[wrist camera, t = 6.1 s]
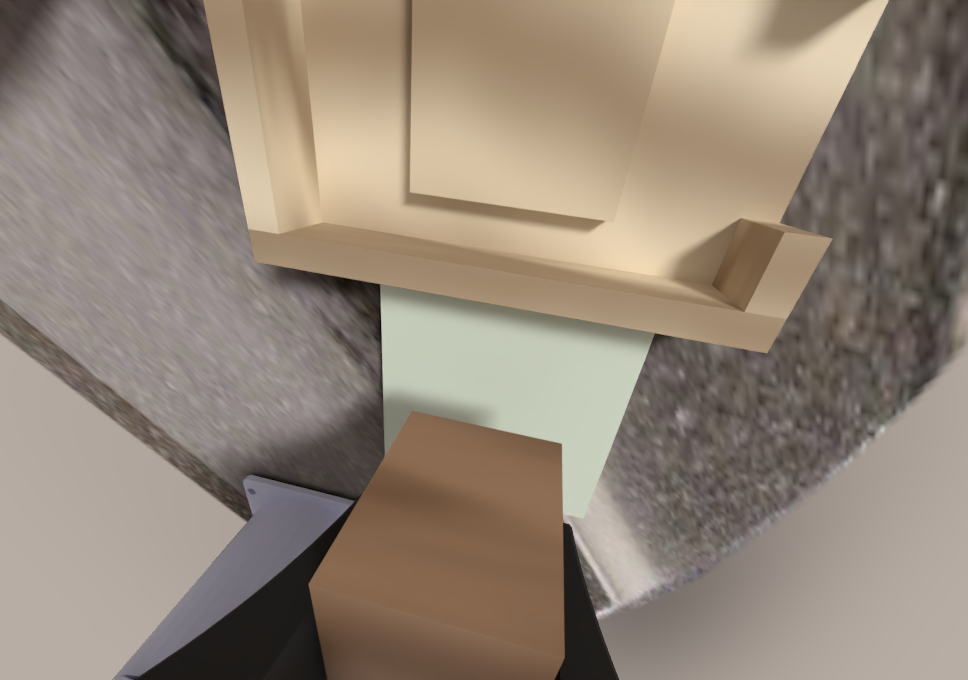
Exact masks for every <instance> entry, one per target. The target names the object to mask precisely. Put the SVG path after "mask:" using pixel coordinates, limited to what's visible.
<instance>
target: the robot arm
mask: <svg viewBox="0 0 968 680" xmlns="http://www.w3.org/2000/svg"><path fill="white" fill-rule="evenodd" d="M243 486H244V489H245V492H246V495H247V499H248V502H249V505H250V509H251V512H252V515H253V516H252V517H251V519H250V520H249V521H248V522H247V523H246V525H245V526H244V527H243V528H242V529H241V530H240V532H239V533H238V534H237V535H236V536H235V537H234V538H233V540H232V541H231V542H230V543H229V544H228V545H227V547H226V548H225V549H224V550H223V551H222V552H221V554H220V555H219V556H218V557H217V558H216V559H215V561H214V562H213V563H212V564H211V565H210V567H209V568H208V569H207V570H206V571H205V572H204V573H203V575H202V576H201V577H200V578H199V579H198V580H197V582H196V583H195V584H194V585H193V586H192V587H191V589H190V590H189V591H188V592H187V593H186V594H185V595H184V597H183V598H182V599H181V600H180V601H179V602H178V604H177V605H176V606H175V607H174V608H173V609H172V611H171V612H170V613H169V614H168V615H167V617H166V618H165V619H164V620H163V621H162V622H161V623H160V625H159V626H158V627H157V628H156V629H155V631H154V632H153V633H152V634H151V635H150V636H149V637H148V639H147V640H146V641H145V642H144V643H143V645H142V646H141V647H140V648H139V649H138V650H137V652H136V653H135V654H134V655H133V656H132V657H131V658H130V660H129V661H128V662H127V663H126V664H125V665H124V667H123V668H122V669H121V670H120V671H119V672H118V674H117V675H116V676H115V677H114V679H112V680H327V675H326V670H325V665H324V660H323V655H322V650H321V645H320V640H319V635H318V630H317V625H316V620H315V615H314V610H313V605H312V599H311V594H310V589H309V582H310V581H311V579H312V577H313V576H314V574H315V572H316V571H317V569H318V567H319V566H320V564H321V562H322V561H323V559H324V557H325V556H326V554H327V552H328V551H329V549H330V547H331V546H332V544H333V542H334V541H335V539H336V537H337V536H338V534H339V532H340V531H341V529H342V527H343V526H344V524H345V522H346V521H347V519H348V517H349V515H350V514H351V512H352V510H353V509H354V507H355V505H356V504H357V502H358V500H359V499H360V497H361V495H362V494H363V493H362V494H361V495H360V496H359V497H358V498H357V499H356V500H355V501H353V500H349V499H345V498H341V497H337V496H333V495H330V494H326V493H322V492H318V491H314V490H310V489H306V488H302V487H298V486H294V485H290V484H286V483H282V482H278V481H274V480H270V479H266V478H262V477H258V476H254V475H249V476H247V477H246V478H245V479H244V480H243ZM563 566H564V644H565V658H564V660H563V663H562V665H561V667H560V669H559V671H558V673H557V675H556V678H555V680H619V678H618V675H617V673H616V671H615V668H614V665H613V662H612V660H611V657H610V655H609V652H608V649H607V646H606V644H605V641H604V638H603V635H602V632H601V630H600V627H599V624H598V621H597V618H596V614H595V611H594V608H593V605H592V602H591V599H590V596H589V593H588V590H587V586H586V583H585V579H584V576H583V572H582V569H581V565H580V561H579V557H578V554H577V549H576V545H575V541H574V536H573V531H572V527H571V526H570V525H569V524H566V523H563Z"/></svg>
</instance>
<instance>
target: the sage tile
mask: <svg viewBox="0 0 968 680" xmlns="http://www.w3.org/2000/svg"><path fill="white" fill-rule="evenodd" d="M380 294H381V331H382V369H383V406H384V444H385V455H386V454H387V452H388V450H389V449H390V447H391V445H392V444H393V442H394V440H395V438H396V437H397V435H398V433H399V432H400V430H401V428H402V427H403V425H404V423H405V422H406V420H407V418H408V417H409V415H410V413H411V412H412V411H415V412H420V413H424V414H429V415H434V416H438V417H443V418H447V419H452V420H456V421H461V422H465V423H470V424H475V425H479V426H484V427H488V428H493V429H497V430H502V431H506V432H511V433H516V434H520V435H525V436H529V437H534V438H538V439H543V440H547V441H552V442H557V443H561V444H562V489H563V514H565V515H569V516H574V517H578V518H582V519H584V516H585V514H586V511H587V509H588V506H589V503H590V501H591V498H592V496H593V493H594V490H595V488H596V485H597V483H598V480H599V477H600V475H601V472H602V470H603V467H604V464H605V462H606V459H607V457H608V454H609V451H610V449H611V446H612V444H613V441H614V438H615V436H616V433H617V431H618V428H619V425H620V423H621V420H622V418H623V415H624V412H625V410H626V407H627V405H628V402H629V399H630V397H631V394H632V392H633V389H634V386H635V384H636V381H637V379H638V376H639V374H640V371H641V368H642V366H643V363H644V361H645V358H646V355H647V353H648V350H649V348H650V345H651V342H652V340H653V337H654V335H655V333H651V332H646V331H640V330H634V329H629V328H623V327H618V326H612V325H606V324H601V323H595V322H590V321H584V320H578V319H573V318H567V317H562V316H556V315H550V314H545V313H539V312H534V311H528V310H522V309H517V308H511V307H506V306H500V305H494V304H489V303H483V302H478V301H472V300H466V299H461V298H455V297H450V296H444V295H438V294H433V293H427V292H422V291H416V290H410V289H405V288H399V287H394V286H388V285H382V284H380Z"/></svg>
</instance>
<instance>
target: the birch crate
mask: <svg viewBox="0 0 968 680" xmlns="http://www.w3.org/2000/svg"><path fill="white" fill-rule="evenodd" d="M203 1H204V6H205V11H206V16H207V21H208V27H209V32H210V37H211V42H212V47H213V52H214V57H215V62H216V67H217V72H218V77H219V83H220V88H221V93H222V98H223V103H224V108H225V113H226V118H227V123H228V128H229V133H230V138H231V144H232V149H233V154H234V159H235V164H236V169H237V174H238V179H239V184H240V189H241V194H242V200H243V205H244V210H245V215H246V220H247V225H248V230H249V235H250V240H251V245H252V250H253V256H254V261H255V262H259V263H265V264H270V265H276V266H281V267H287V268H293V269H298V270H304V271H309V272H315V273H321V274H326V275H332V276H337V277H343V278H349V279H354V280H360V281H366V282H371V283H377V284H382V285H388V286H394V287H399V288H405V289H410V290H416V291H422V292H427V293H433V294H438V295H444V296H450V297H455V298H461V299H466V300H472V301H478V302H483V303H489V304H494V305H500V306H506V307H511V308H517V309H522V310H528V311H534V312H539V313H545V314H550V315H556V316H562V317H567V318H573V319H578V320H584V321H590V322H595V323H601V324H606V325H612V326H618V327H623V328H629V329H634V330H640V331H646V332H651V333H657V334H662V335H668V336H674V337H679V338H685V339H690V340H696V341H702V342H707V343H713V344H718V345H724V346H730V347H735V348H741V349H746V350H752V351H758V352H763V353H768V351H769V349H770V347H771V346H772V344H773V342H774V340H775V339H776V337H777V335H778V333H779V332H780V330H781V328H782V326H783V325H784V323H785V321H786V319H787V318H788V316H789V314H790V312H791V311H792V309H793V307H794V305H795V304H796V302H797V300H798V298H799V296H800V295H801V293H802V291H803V289H804V288H805V286H806V284H807V282H808V281H809V279H810V277H811V275H812V274H813V272H814V270H815V268H816V267H817V265H818V263H819V261H820V260H821V258H822V256H823V254H824V253H825V251H826V249H827V247H828V246H829V244H830V242H831V240H832V238H828V237H825V236H821V235H818V234H815V233H811V232H808V231H804V230H801V229H797V228H794V227H791V226H787V225H784V224H780V221H781V219H782V216H783V214H784V212H785V210H786V208H787V206H788V204H789V202H790V200H791V198H792V196H793V194H794V192H795V190H796V188H797V186H798V184H799V182H800V180H801V178H802V176H803V174H804V172H805V170H806V168H807V166H808V164H809V161H810V159H811V157H812V155H813V153H814V151H815V149H816V147H817V145H818V143H819V141H820V139H821V137H822V135H823V133H824V131H825V129H826V127H827V125H828V123H829V121H830V119H831V117H832V115H833V113H834V111H835V108H836V106H837V104H838V102H839V100H840V98H841V96H842V94H843V92H844V90H845V88H846V86H847V84H848V82H849V80H850V78H851V76H852V74H853V72H854V70H855V68H856V66H857V64H858V62H859V60H860V58H861V56H862V53H863V51H864V49H865V47H866V45H867V43H868V41H869V39H870V37H871V35H872V33H873V31H874V29H875V27H876V25H877V23H878V21H879V19H880V17H881V15H882V13H883V11H884V9H885V7H886V5H887V3H888V1H889V0H203Z"/></svg>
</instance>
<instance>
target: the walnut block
mask: <svg viewBox="0 0 968 680" xmlns="http://www.w3.org/2000/svg"><path fill="white" fill-rule="evenodd" d="M309 589H310V594H311V599H312V605H313V610H314V615H315V620H316V625H317V630H318V635H319V640H320V645H321V650H322V655H323V660H324V665H325V670H326V675H327V680H555V678H556V675H557V673H558V671H559V669H560V667H561V665H562V663H563V660H564V658H565V644H564V566H563V489H562V444H561V443H557V442H552V441H547V440H543V439H538V438H534V437H529V436H525V435H520V434H516V433H511V432H506V431H502V430H497V429H493V428H488V427H484V426H479V425H475V424H470V423H465V422H461V421H456V420H452V419H447V418H443V417H438V416H434V415H429V414H424V413H420V412H415V411H412V412H411V413H410V415H409V417H408V418H407V420H406V422H405V423H404V425H403V427H402V428H401V430H400V432H399V433H398V435H397V437H396V438H395V440H394V442H393V444H392V445H391V447H390V449H389V450H388V452H387V454H386V455H385V457H384V459H383V460H382V462H381V464H380V465H379V467H378V469H377V470H376V472H375V474H374V475H373V477H372V479H371V480H370V482H369V484H368V485H367V487H366V489H365V490H364V492H363V494H362V495H361V497H360V499H359V500H358V502H357V504H356V505H355V507H354V509H353V510H352V512H351V514H350V515H349V517H348V519H347V521H346V522H345V524H344V526H343V527H342V529H341V531H340V532H339V534H338V536H337V537H336V539H335V541H334V542H333V544H332V546H331V547H330V549H329V551H328V552H327V554H326V556H325V557H324V559H323V561H322V562H321V564H320V566H319V567H318V569H317V571H316V572H315V574H314V576H313V577H312V579H311V581H310V582H309Z"/></svg>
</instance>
